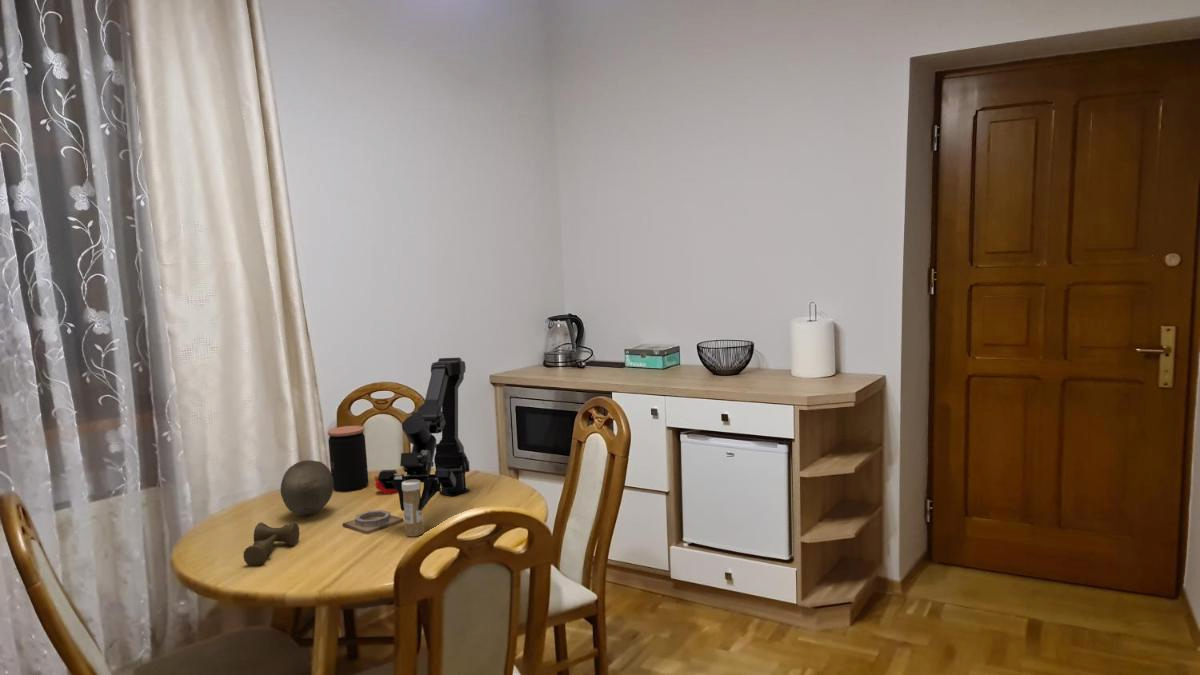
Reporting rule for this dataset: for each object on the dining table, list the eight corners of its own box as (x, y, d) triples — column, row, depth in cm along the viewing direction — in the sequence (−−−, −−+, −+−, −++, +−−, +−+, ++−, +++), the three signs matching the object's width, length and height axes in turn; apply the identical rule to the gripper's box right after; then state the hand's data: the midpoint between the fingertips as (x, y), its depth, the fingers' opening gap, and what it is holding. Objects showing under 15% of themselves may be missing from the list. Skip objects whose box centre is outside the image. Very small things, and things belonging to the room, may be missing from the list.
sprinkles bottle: (426, 534, 198) (423, 481, 196) (408, 538, 195) (405, 485, 194) (419, 529, 201) (416, 477, 200) (402, 533, 199) (398, 481, 197)
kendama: (233, 570, 182) (268, 536, 202) (275, 569, 182) (306, 535, 202) (231, 545, 181) (266, 514, 201) (273, 544, 181) (305, 513, 201)
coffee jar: (342, 482, 249) (337, 425, 247) (374, 481, 248) (370, 425, 246) (326, 492, 239) (320, 433, 237) (359, 492, 237) (354, 433, 235)
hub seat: (378, 514, 215) (377, 506, 215) (403, 521, 208) (402, 513, 208) (342, 526, 207) (342, 518, 206) (367, 534, 200) (366, 525, 200)
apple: (403, 469, 240) (377, 464, 237) (405, 479, 234) (378, 473, 231) (395, 490, 241) (369, 484, 238) (397, 500, 235) (371, 495, 232)
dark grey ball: (270, 521, 214) (265, 466, 213) (310, 505, 227) (305, 453, 225) (309, 526, 208) (304, 470, 207) (348, 509, 221) (343, 456, 219)
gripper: (377, 439, 201) (363, 495, 191) (449, 437, 198) (439, 494, 189) (391, 461, 209) (378, 516, 200) (460, 459, 207) (451, 515, 197)
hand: (411, 509), depth 196 cm, fingers closed on sprinkles bottle, 4 cm apart
